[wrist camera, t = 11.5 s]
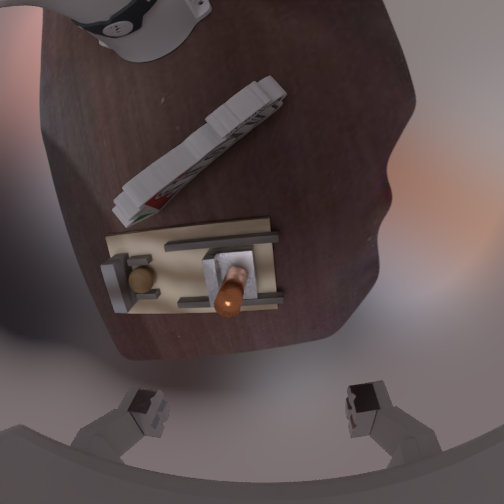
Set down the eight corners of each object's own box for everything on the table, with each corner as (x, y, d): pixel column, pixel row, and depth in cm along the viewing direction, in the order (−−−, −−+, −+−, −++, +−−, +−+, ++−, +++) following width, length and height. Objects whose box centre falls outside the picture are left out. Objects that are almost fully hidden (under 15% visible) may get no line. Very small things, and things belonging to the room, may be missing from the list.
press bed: (109, 234, 43) (88, 246, 37) (276, 215, 40) (276, 226, 34) (130, 309, 47) (114, 328, 42) (284, 304, 44) (284, 326, 38)
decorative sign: (267, 96, 36) (275, 58, 22) (279, 110, 37) (294, 78, 23) (146, 199, 41) (96, 215, 26) (157, 213, 41) (112, 235, 27)
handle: (209, 248, 41) (188, 279, 31) (253, 245, 40) (245, 275, 30) (216, 293, 43) (200, 332, 33) (258, 290, 42) (253, 331, 32)
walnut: (132, 264, 43) (121, 274, 39) (154, 262, 42) (143, 272, 39) (138, 287, 44) (128, 298, 40) (160, 286, 44) (150, 297, 40)
